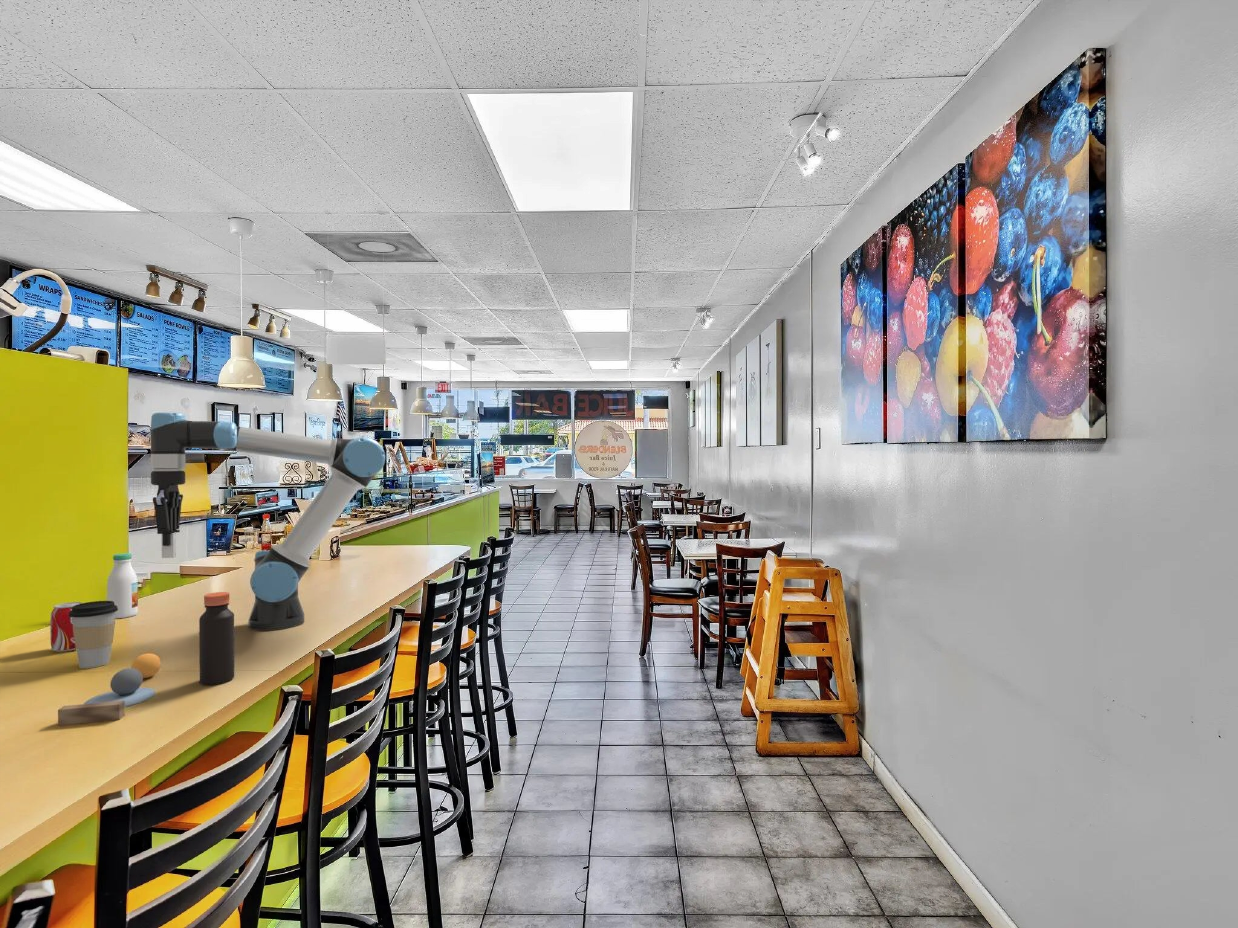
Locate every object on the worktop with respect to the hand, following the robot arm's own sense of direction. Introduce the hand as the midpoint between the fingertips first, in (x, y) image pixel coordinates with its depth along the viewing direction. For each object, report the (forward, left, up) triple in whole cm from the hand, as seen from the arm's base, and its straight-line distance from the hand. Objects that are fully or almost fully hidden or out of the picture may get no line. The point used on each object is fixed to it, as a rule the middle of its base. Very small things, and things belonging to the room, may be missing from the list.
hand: (168, 557), depth 166 cm
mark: (-5, +38, -24) cm, 45 cm away
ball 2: (-4, +25, -22) cm, 33 cm away
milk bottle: (+28, -41, -25) cm, 55 cm away
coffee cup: (+12, +11, -25) cm, 30 cm away
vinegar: (-21, +31, -25) cm, 45 cm away
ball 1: (-5, +35, -22) cm, 42 cm away
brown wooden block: (-5, +49, -24) cm, 55 cm away
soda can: (+25, -5, -25) cm, 35 cm away
